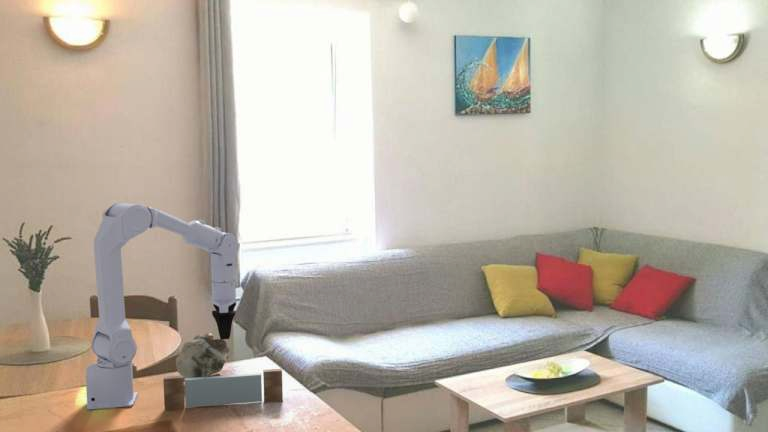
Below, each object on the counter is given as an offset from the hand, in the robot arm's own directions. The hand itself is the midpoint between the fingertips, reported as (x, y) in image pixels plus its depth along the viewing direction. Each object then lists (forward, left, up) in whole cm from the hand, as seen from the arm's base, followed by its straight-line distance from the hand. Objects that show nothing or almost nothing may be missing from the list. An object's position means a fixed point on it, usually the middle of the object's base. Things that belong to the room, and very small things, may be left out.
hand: (225, 334), depth 177 cm
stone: (-4, -9, -2) cm, 10 cm away
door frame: (0, -23, -9) cm, 25 cm away
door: (0, -23, -9) cm, 25 cm away
